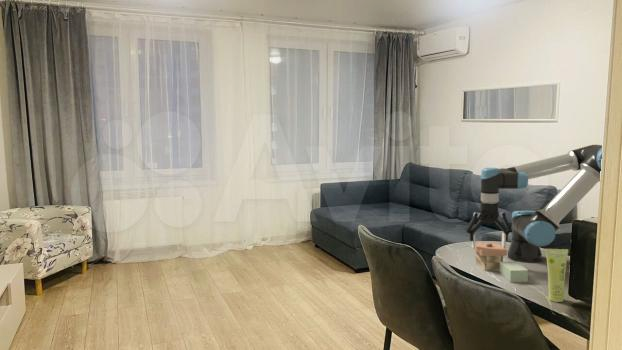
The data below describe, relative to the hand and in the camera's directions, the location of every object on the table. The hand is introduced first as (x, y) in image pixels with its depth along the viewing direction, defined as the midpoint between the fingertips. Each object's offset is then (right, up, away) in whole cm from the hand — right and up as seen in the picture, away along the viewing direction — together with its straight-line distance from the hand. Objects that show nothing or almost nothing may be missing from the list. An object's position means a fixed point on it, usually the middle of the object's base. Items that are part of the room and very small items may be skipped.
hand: (488, 247), depth 208 cm
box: (+1, -9, +1) cm, 9 cm away
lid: (0, -2, 0) cm, 2 cm away
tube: (+9, -13, -39) cm, 43 cm away
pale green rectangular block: (+5, -10, -14) cm, 18 cm away
